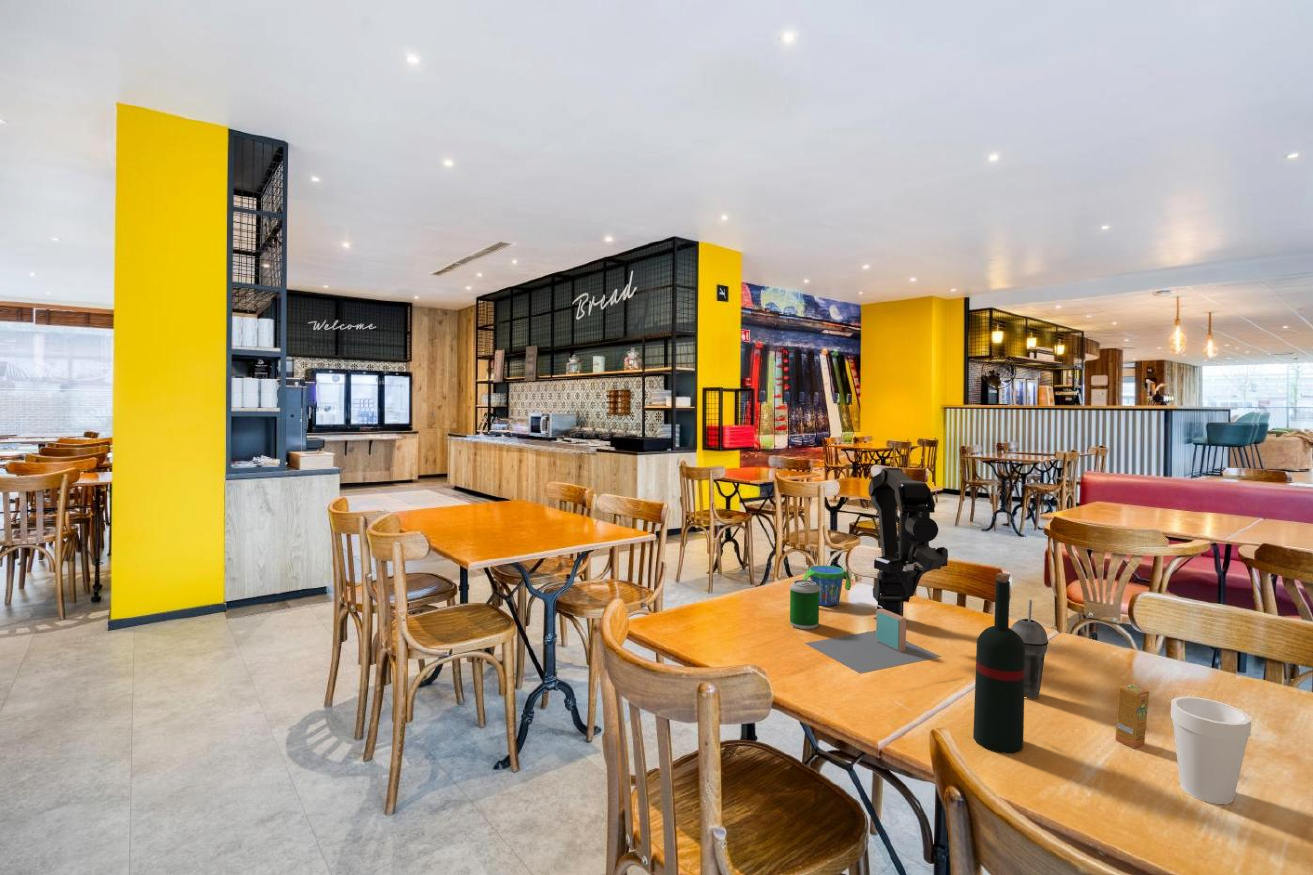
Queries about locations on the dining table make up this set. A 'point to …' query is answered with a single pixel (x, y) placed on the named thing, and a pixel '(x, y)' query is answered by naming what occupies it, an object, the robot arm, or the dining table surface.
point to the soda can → (804, 604)
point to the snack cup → (828, 583)
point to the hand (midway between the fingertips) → (910, 596)
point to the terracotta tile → (891, 630)
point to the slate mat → (869, 652)
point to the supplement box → (1132, 715)
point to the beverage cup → (1032, 652)
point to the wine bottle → (1000, 680)
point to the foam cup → (1209, 747)
